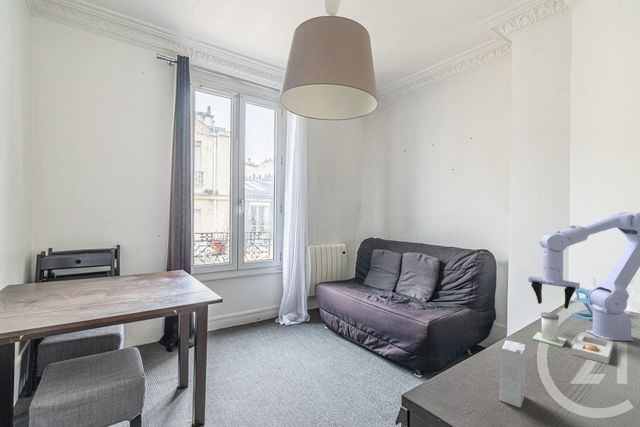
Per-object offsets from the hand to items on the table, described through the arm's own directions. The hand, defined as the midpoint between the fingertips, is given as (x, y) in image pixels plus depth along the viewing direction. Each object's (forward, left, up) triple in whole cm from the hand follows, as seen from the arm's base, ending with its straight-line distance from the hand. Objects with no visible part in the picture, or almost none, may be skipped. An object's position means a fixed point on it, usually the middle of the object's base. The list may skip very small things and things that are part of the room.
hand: (552, 305), depth 109 cm
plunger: (+2, +18, -9) cm, 20 cm away
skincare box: (+38, +42, -10) cm, 57 cm away
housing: (-2, +15, -9) cm, 18 cm away
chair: (-26, -17, -10) cm, 33 cm away
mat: (+6, +8, -9) cm, 14 cm away
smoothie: (-36, -27, -10) cm, 46 cm away
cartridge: (+6, +8, -9) cm, 13 cm away
